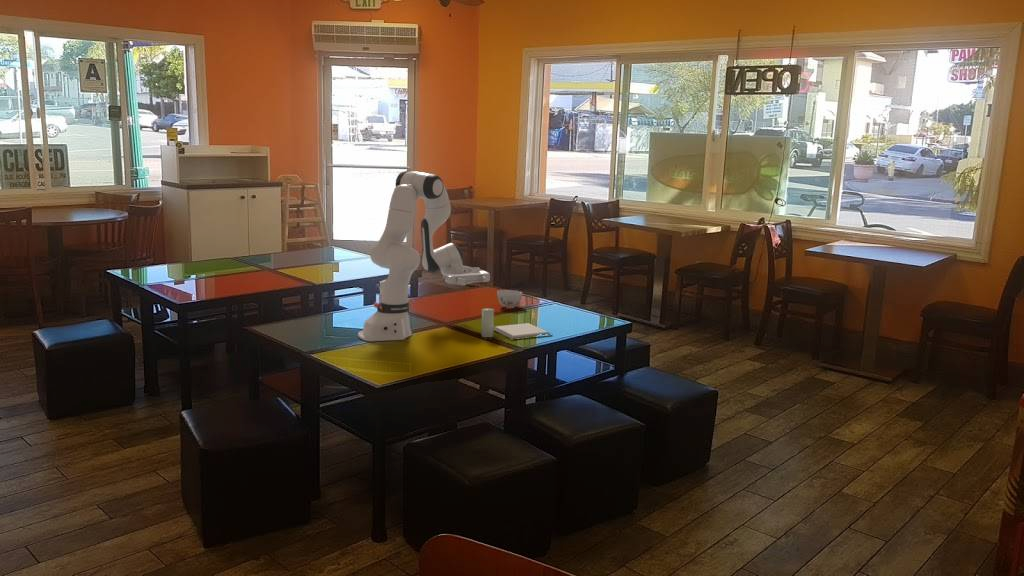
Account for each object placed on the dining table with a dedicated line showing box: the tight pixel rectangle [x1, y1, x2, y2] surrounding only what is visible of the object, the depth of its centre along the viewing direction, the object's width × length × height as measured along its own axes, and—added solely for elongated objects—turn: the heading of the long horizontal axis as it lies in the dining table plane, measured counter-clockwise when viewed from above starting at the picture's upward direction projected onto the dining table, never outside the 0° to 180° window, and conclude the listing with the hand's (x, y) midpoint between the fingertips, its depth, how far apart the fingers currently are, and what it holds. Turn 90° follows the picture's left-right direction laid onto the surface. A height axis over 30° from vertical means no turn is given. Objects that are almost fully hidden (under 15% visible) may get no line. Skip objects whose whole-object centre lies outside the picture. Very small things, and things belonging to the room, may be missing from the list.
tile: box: [493, 323, 552, 340], centre depth 346 cm, size 20×20×2 cm
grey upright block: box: [480, 308, 495, 338], centre depth 336 cm, size 5×5×12 cm
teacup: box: [496, 289, 523, 308], centre depth 395 cm, size 15×12×8 cm
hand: (475, 280), depth 344 cm, fingers open, 8 cm apart
